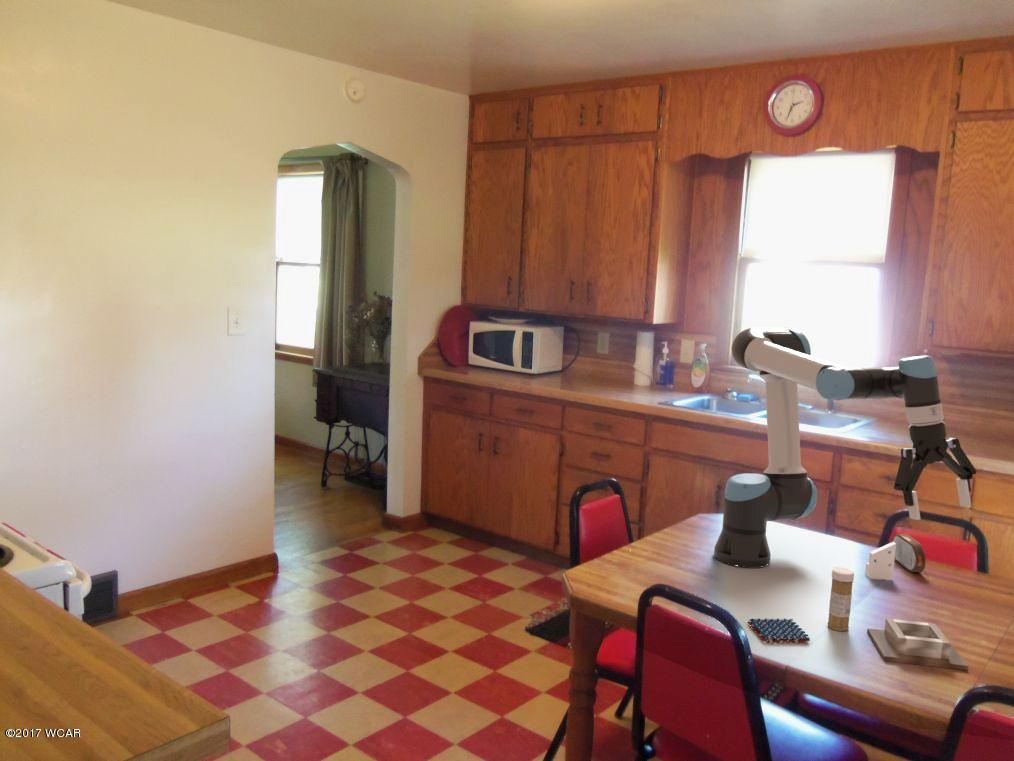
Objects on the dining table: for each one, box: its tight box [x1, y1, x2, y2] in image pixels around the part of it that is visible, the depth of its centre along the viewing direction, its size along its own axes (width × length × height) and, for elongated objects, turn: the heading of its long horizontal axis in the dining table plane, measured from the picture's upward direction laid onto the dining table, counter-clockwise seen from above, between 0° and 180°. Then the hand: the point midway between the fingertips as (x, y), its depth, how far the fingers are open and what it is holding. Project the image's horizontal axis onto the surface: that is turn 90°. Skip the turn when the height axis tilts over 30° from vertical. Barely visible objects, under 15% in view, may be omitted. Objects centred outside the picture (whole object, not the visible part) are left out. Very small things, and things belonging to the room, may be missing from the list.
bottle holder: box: [866, 618, 969, 671], centre depth 175 cm, size 16×14×4 cm
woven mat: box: [747, 618, 811, 645], centre depth 181 cm, size 10×11×2 cm
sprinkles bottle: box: [827, 567, 855, 632], centre depth 185 cm, size 5×5×14 cm
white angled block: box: [864, 541, 896, 581], centre depth 219 cm, size 4×10×9 cm, turn 84°
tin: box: [892, 533, 927, 574], centre depth 228 cm, size 15×3×8 cm, turn 179°
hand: (940, 512), depth 191 cm, fingers open, 13 cm apart
